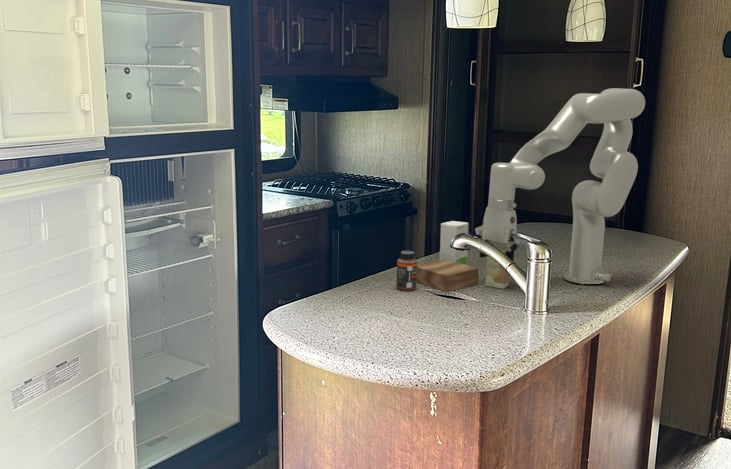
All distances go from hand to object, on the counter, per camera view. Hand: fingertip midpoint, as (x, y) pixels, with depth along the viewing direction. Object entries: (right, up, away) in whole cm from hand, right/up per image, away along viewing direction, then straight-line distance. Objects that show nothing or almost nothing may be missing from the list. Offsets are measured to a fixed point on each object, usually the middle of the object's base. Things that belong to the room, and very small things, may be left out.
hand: (496, 260), depth 217 cm
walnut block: (-15, -7, +4) cm, 17 cm away
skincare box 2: (+1, -8, +2) cm, 8 cm away
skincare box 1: (-11, -4, +21) cm, 24 cm away
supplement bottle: (-27, -9, -2) cm, 29 cm away
